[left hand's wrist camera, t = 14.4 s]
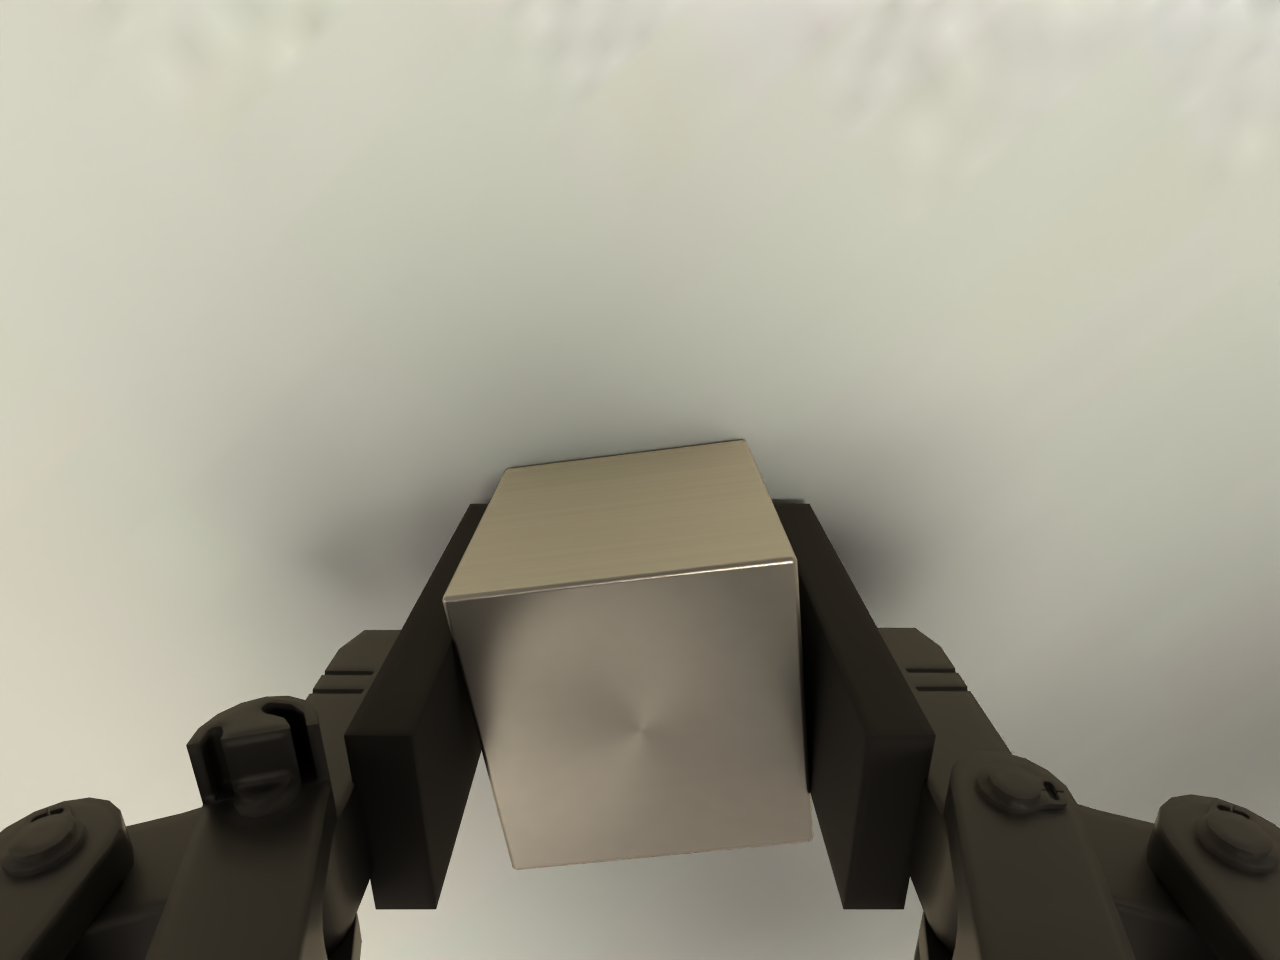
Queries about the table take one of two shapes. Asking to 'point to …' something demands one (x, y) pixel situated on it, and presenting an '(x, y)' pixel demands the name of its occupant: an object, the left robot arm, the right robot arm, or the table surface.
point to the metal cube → (636, 658)
